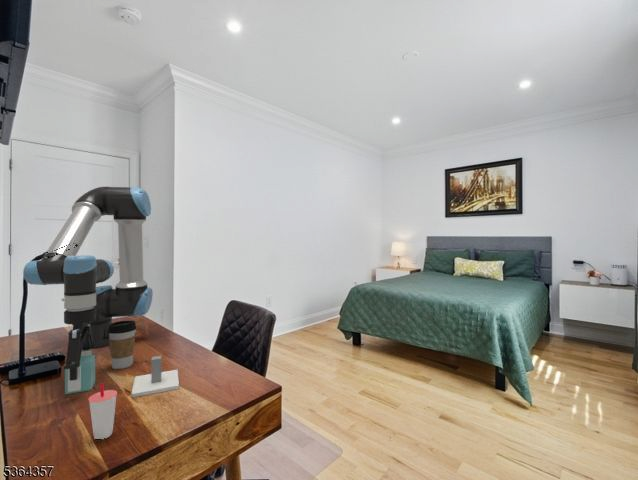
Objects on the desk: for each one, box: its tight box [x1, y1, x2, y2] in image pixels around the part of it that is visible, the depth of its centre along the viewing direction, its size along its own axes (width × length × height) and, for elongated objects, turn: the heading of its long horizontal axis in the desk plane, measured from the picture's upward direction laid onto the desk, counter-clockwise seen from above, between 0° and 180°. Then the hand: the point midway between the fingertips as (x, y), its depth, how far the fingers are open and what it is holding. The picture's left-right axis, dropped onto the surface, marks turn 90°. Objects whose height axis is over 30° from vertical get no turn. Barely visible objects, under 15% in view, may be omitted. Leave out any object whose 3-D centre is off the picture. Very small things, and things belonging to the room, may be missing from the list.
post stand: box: [131, 355, 180, 399], centre depth 94 cm, size 12×12×8 cm
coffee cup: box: [108, 320, 137, 370], centre depth 108 cm, size 8×8×15 cm
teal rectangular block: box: [64, 354, 96, 395], centre depth 92 cm, size 6×6×8 cm
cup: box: [87, 382, 118, 440], centre depth 70 cm, size 5×5×12 cm
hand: (80, 380), depth 92 cm, fingers open, 13 cm apart
